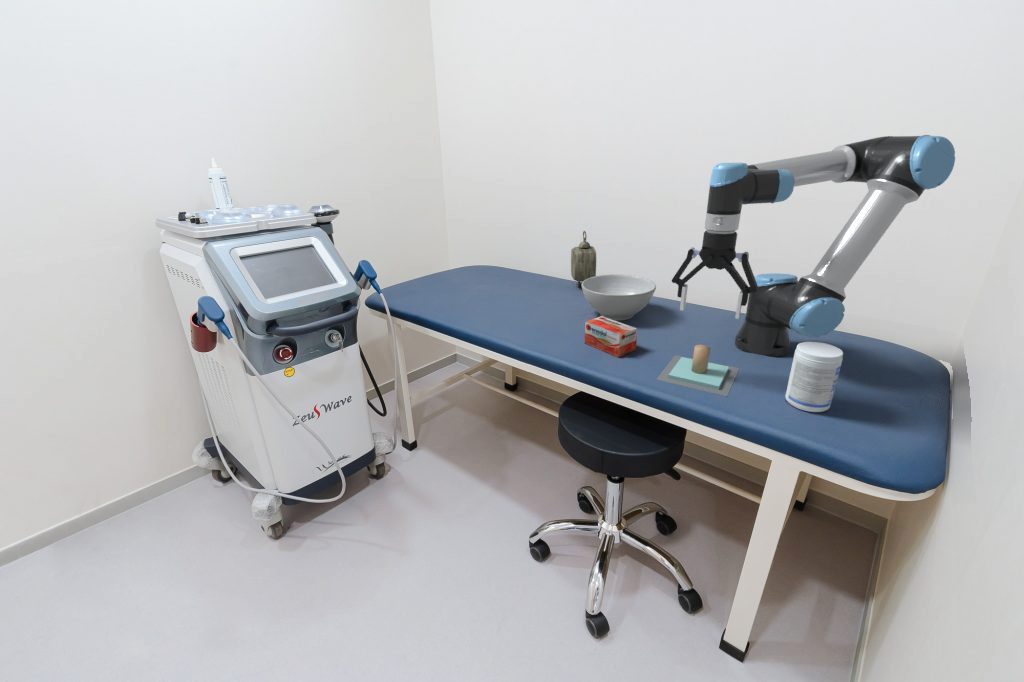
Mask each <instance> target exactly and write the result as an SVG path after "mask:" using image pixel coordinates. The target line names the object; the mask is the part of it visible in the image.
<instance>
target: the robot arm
mask: <svg viewBox="0 0 1024 682" xmlns="http://www.w3.org/2000/svg"><path fill="white" fill-rule="evenodd" d="M955 155H956V151H955V147H954V145H953V143H952V141H950V140H949V139H948V138H947V137H944V136H939V135H930V134H923V135H910V136H909V135H907V136H905V135H901V136H897V135H895V136H892V135H891V136H890V135H888V136H880V137H873V138H870V139H869V138H868V139H864V140H860V141H856V142H852V143H846V144H843V145H838V146H835V147H834V148H833V149H832V150H831V151H830V150H829V151H825V152H818V153H813V154H806V155H801V156H795V157H789V158H783V159H778V160H777V159H776V160H771V161H765V162H760V163H753V164H749V165H748V164H747V163H746V162H719V163H717V164H715V165H714V166H713V167H712V171H711V175H710V180H709V181H710V182H709V189H708V198H707V205H706V206H707V207H706V214H705V221H704V229H705V231H704V232H703V238H702V239H703V240H702V246H701V249H697V248H695V247H690V249H688V251H687V254H686V258H685V259H684V261H683V262H682V263H681V266H680V267H679V268H678V270H677V271H676V273H675V275H674V276H673V277H672V279H671V282H672V283H673V284H676V285H677V287H678V288H677V298H680V304H679V305H680V307H679V311H682V312H683V311H684V310H685V308H686V306H687V305H686V303H687V295H688V287H689V285H688V284H686V283H687V282H688V281H689V280H691V279H692V278H693V277H694V276H695V275H696V274H697V273H698V272H699V271H701V270H702V269H703V268H704V267H706V268H708V269H710V270H713V269H716V270H724V269H725V271H726V272H727V273H728V274H729V275H730V277H731V279H732V280H733V281H734V282H735V284H736V285H737V287H738V288H739V289H740V292H739V293H738V299H737V306H736V310H735V315H734V319H736V320H739V318H740V316H741V313H742V307H746V312H745V318H744V322H743V323H742V325H741V327H740V328H739V330H738V332H737V333H736V335H735V339H734V345H735V346H736V348H738V349H739V350H741V351H743V352H745V353H749V354H754V355H758V356H765V357H769V358H770V357H772V358H773V357H782V356H785V355H787V354H788V353H789V352H790V347H791V341H790V335H789V330H791V332H794V333H795V334H798V335H802V336H803V337H807V338H820V337H822V336H826V335H828V334H830V333H832V332H833V331H834V330H835V329H836V328H838V326H839V325H840V324H841V323H842V322H843V319H844V317H845V314H844V313H845V312H846V311H845V310H846V308H845V305H844V304H843V302H844V300H845V299H846V297H847V295H846V292H845V288H846V287H847V285H848V284H849V283H850V281H851V280H852V279H853V277H854V276H855V275H856V273H857V272H858V271H859V269H860V268H861V266H862V265H863V264H864V262H865V260H867V257H868V256H870V253H872V251H873V250H874V249H875V247H876V246H877V244H878V243H879V241H880V240H881V239H882V237H883V236H884V234H885V233H886V232H887V230H888V229H890V226H891V225H892V223H893V222H894V220H896V218H897V217H898V215H899V214H900V213H901V212H902V210H903V209H904V207H905V205H908V204H910V203H913V202H916V201H918V200H919V198H920V197H921V195H922V194H923V193H924V191H925V190H931V189H935V188H937V187H939V186H941V185H943V184H944V183H945V182H946V181H947V180H948V179H949V177H950V175H951V174H952V172H953V169H954V167H955V161H956V156H955ZM830 181H832V182H833V183H836V184H841V183H846V182H847V183H849V182H854V183H866V185H867V188H868V189H867V190H868V191H867V193H866V194H865V195H864V197H863V199H862V200H861V201H860V203H859V204H858V206H857V207H856V209H855V210H854V211H853V213H852V214H851V215H850V217H849V219H848V220H847V222H846V223H845V224H844V226H843V227H842V229H840V231H839V233H838V234H837V236H836V237H835V239H834V240H833V242H832V243H831V245H829V246H828V249H827V250H826V252H825V253H824V255H823V256H822V257H821V258H820V260H819V261H818V263H817V265H816V266H815V267H814V269H813V270H812V272H811V273H810V274H807V275H804V276H803V275H802V276H801V277H800V278H798V276H797V275H795V274H789V273H776V272H775V273H771V272H770V273H761V274H757V275H754V273H753V270H752V267H751V264H750V261H749V252H748V251H744V252H737V251H736V246H737V239H738V233H737V230H738V229H739V226H740V220H741V212H742V207H743V205H752V204H753V205H755V204H757V205H758V204H775V203H781V202H785V201H786V200H788V199H789V198H790V197H791V196H792V194H793V192H794V190H795V189H794V188H795V187H800V186H806V185H812V184H818V183H823V182H824V183H825V182H830ZM697 256H699V258H700V259H701V262H700V263H699V264H698V265H696V266H695V267H694V268H693V269H692V270H691V271H690V272H688V274H686V275H685V276H684V277H683V278H681V276H682V275H683V274H684V272H685V270H686V269H687V268H688V266H689V264H690V263H691V262H692V260H693V259H695V258H696V257H697ZM735 259H737V260H738V262H739V263H741V267H742V269H743V272H744V274H745V277H746V280H747V283H748V284H747V283H746V281H745V280H744V278H743V277H742V276H741V275H740V273H739V271H738V270H737V269H736V267H735V265H734V263H733V262H734V260H735ZM746 305H747V306H746ZM788 329H789V330H788Z"/></svg>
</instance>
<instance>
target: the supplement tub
mask: <svg viewBox="0 0 1024 682" xmlns="http://www.w3.org/2000/svg"><path fill="white" fill-rule="evenodd" d="M843 356H844V352H843V350H842V349H840V348H839V347H837V346H835V345H832V344H829V343H824V342H820V341H804V342H800V343H798V344H797V345H796V348H795V350H794V354H793V359H792V364H791V369H790V372H789V377H788V381H787V387H786V391H785V400H786V402H787V403H788V404H790V406H792V407H794V408H796V409H798V410H801V411H806V412H811V413H822V412H826V411H827V410H829V409H830V408H831V405H832V402H833V398H834V394H835V391H836V387H837V383H838V379H839V377H840V373H841V372H840V371H841V367H842V363H843Z"/></svg>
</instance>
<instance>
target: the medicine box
mask: <svg viewBox="0 0 1024 682" xmlns="http://www.w3.org/2000/svg"><path fill="white" fill-rule="evenodd" d="M584 324H585V325H584V326H585V327H584V344H585V345H587V346H590V347H592V348H595V349H597V350H599V351H601V352H604V353H606V354H608V355H611V356H613V357H615V358H622V357H623V356H625V355H627V354H630V353H631V352H634V351H636V349H637V340H638V329H637V327H634V326H631V325H628V324H625V323H622V322H620V321H618V320H611V319H608V318H605V317H603V316H599V317H595V318H592V319H589V320H586V321H585V322H584Z"/></svg>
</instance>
